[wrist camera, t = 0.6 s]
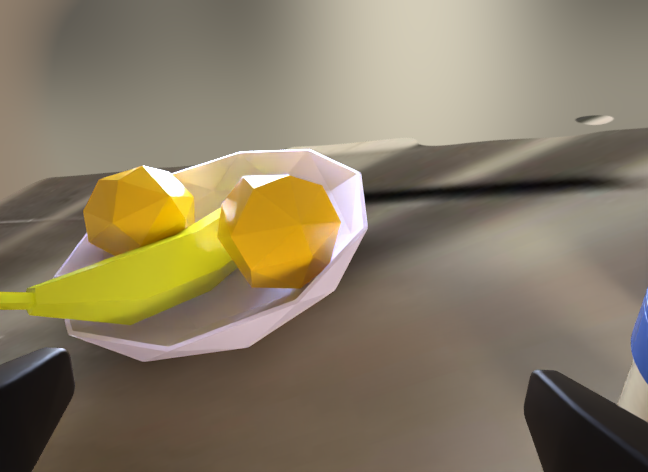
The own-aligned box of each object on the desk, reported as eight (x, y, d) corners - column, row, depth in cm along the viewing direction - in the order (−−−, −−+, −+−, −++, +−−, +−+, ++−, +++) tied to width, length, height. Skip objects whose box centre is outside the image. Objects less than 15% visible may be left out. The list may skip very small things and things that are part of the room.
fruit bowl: (279, 171, 55) (253, 83, 48) (443, 267, 35) (437, 141, 29) (52, 286, 44) (-21, 194, 38) (107, 512, 25) (-24, 403, 18)
